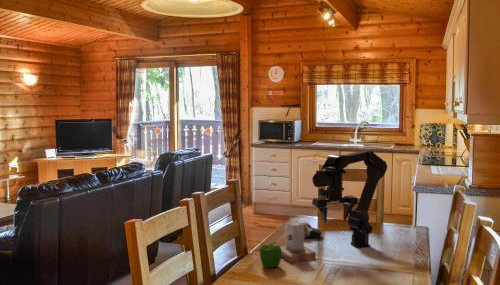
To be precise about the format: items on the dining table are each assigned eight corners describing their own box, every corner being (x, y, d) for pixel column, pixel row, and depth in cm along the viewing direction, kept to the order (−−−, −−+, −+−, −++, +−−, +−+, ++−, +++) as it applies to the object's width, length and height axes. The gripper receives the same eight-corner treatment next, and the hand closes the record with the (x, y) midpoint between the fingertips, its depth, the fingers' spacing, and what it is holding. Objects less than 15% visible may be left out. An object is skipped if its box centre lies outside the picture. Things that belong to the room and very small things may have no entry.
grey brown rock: (321, 241, 230) (313, 243, 221) (300, 232, 236) (291, 234, 227) (325, 227, 229) (317, 229, 221) (304, 219, 235) (295, 221, 227)
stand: (300, 249, 209) (300, 243, 209) (315, 258, 198) (315, 252, 198) (275, 253, 204) (275, 247, 204) (289, 262, 193) (289, 256, 193)
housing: (297, 246, 205) (298, 221, 204) (305, 251, 199) (305, 224, 198) (285, 248, 202) (285, 222, 201) (292, 253, 197) (292, 226, 196)
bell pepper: (255, 267, 188) (255, 242, 187) (266, 261, 195) (266, 236, 194) (273, 272, 184) (274, 246, 183) (285, 265, 190) (285, 240, 189)
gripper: (345, 180, 215) (345, 215, 216) (306, 182, 209) (306, 218, 210) (359, 184, 204) (358, 221, 206) (318, 187, 198) (317, 225, 200)
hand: (334, 221), depth 206 cm, fingers open, 9 cm apart
